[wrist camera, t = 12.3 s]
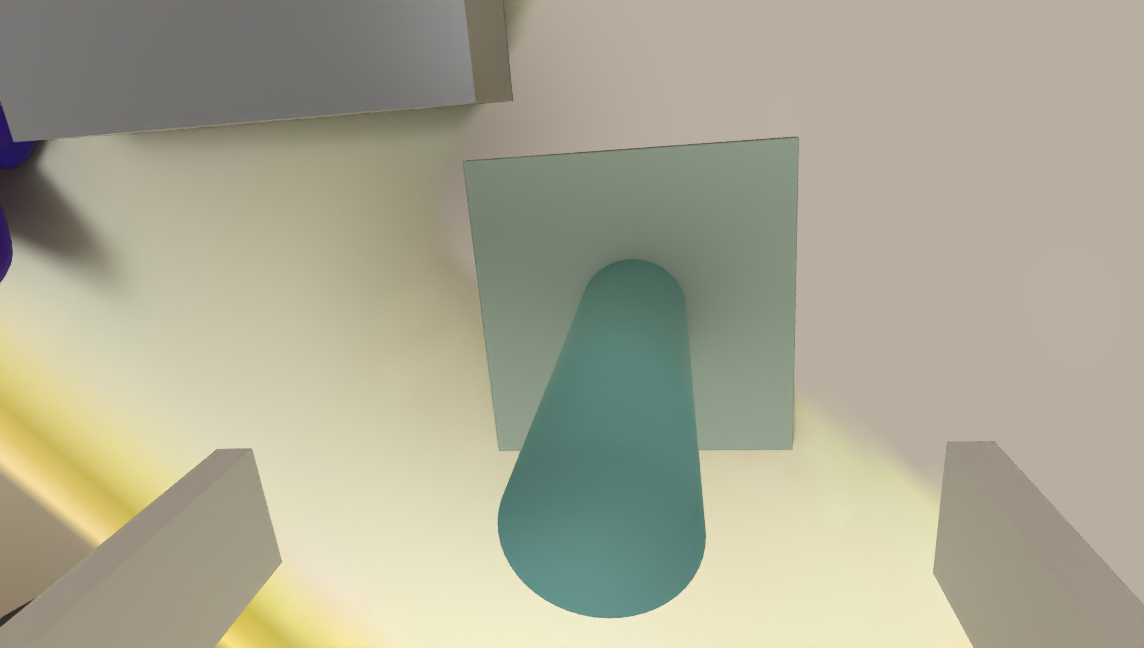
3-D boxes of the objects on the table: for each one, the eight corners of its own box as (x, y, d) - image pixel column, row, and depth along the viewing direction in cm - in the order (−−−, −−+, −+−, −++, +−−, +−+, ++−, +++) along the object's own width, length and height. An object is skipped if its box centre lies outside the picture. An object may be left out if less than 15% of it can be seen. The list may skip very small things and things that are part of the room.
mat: (467, 160, 26) (462, 162, 25) (796, 136, 24) (798, 137, 24) (502, 443, 30) (499, 450, 29) (789, 442, 28) (792, 449, 27)
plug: (577, 262, 26) (485, 442, 13) (684, 256, 25) (703, 439, 12) (585, 360, 27) (509, 615, 14) (687, 357, 27) (708, 620, 13)
